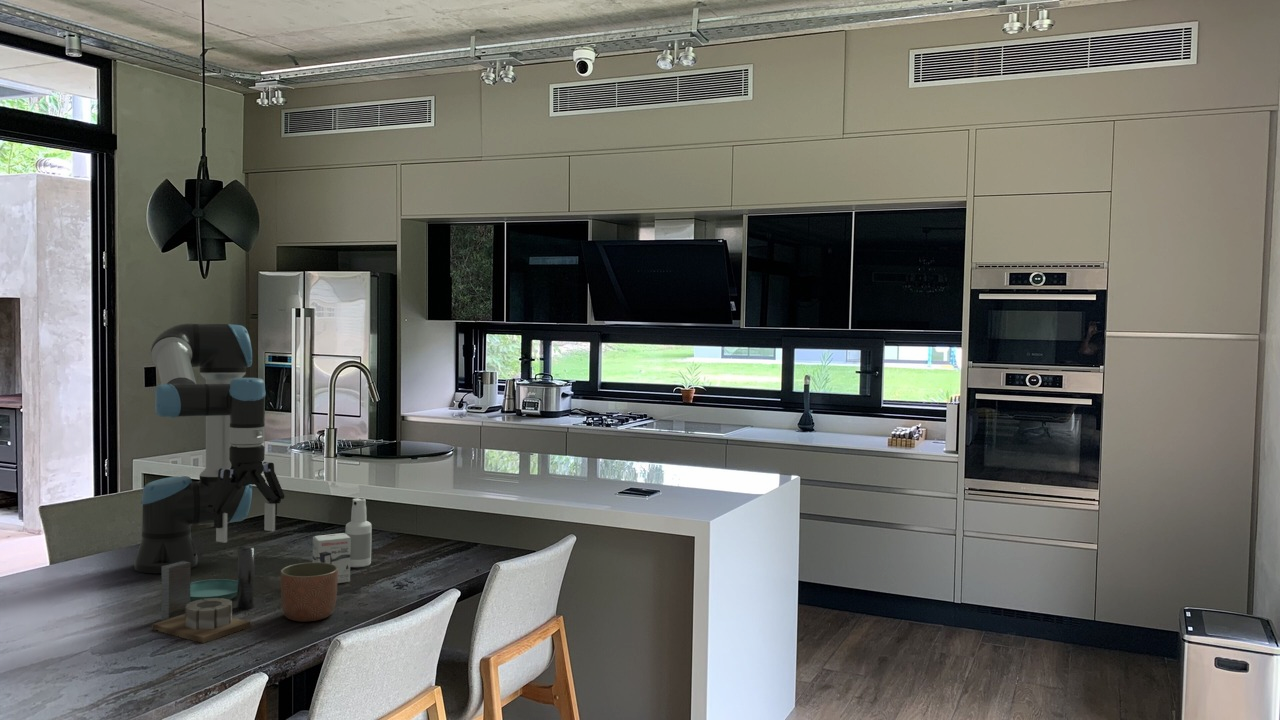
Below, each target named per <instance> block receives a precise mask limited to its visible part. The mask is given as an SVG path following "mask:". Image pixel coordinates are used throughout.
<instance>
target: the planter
mask: <svg viewBox="0 0 1280 720" xmlns="http://www.w3.org/2000/svg"><path fill="white" fill-rule="evenodd" d="M337 581H338V567H337V566H336V565H333V564H329V563H321V562H313V561H310V562H309V561H308V562H302V563H301V562H300V563H295V564H290V565H287V566H285V567H283V568H281V569H280V602H281V608H282V609H281V610H282V612H283V615H284V616H285V617H286V618H287V619H289V620H291V621H295V622H302V623H303V622H305V623H307V622H315V621H319V620H323V619H326V618H327V617H330V615H331V614H332V613H334V611H335V608H336V603H337V597H338V596H337V595H338V583H337Z"/></svg>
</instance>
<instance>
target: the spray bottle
mask: <svg viewBox="0 0 1280 720" xmlns="http://www.w3.org/2000/svg"><path fill="white" fill-rule="evenodd" d="M366 503H367V501H366V498H363V499H361V498H360V497H359V498H358V497H357V498H352V506H351V514H350V515H351V516H350V521H349V522H347V523H346V524H345V534H347V535H348V536H349V537H350V538H351V552H350V568H363V567H368V566H370V565H371V563H372V531H373V530H372V529H373V528H372V527H373V526H372V525H373V524H372V522H370V521H368V520H367V504H366Z"/></svg>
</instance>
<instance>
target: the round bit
mask: <svg viewBox="0 0 1280 720" xmlns="http://www.w3.org/2000/svg"><path fill="white" fill-rule="evenodd" d="M236 572H237V577H236V581H237V596H236V609H237V610H241V611H242V610H243V611H245V609H247V610H251V609H253V608H255V607H254V606H255V605H254V603H255V602H254V601H255V546H253V545H244V546H239V547H237V571H236Z"/></svg>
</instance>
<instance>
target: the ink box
mask: <svg viewBox="0 0 1280 720" xmlns="http://www.w3.org/2000/svg"><path fill="white" fill-rule="evenodd" d="M350 552H351V538H350V537H349V536H348V535H347V534H346V532H342V533H341V532H339V533H332V534H324V535H322V534H321V535H314V536H312V562H321V563H329V564H333V565H336V566H337V567H338V581H337V584H342V583H350V582H351V567H350Z"/></svg>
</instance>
